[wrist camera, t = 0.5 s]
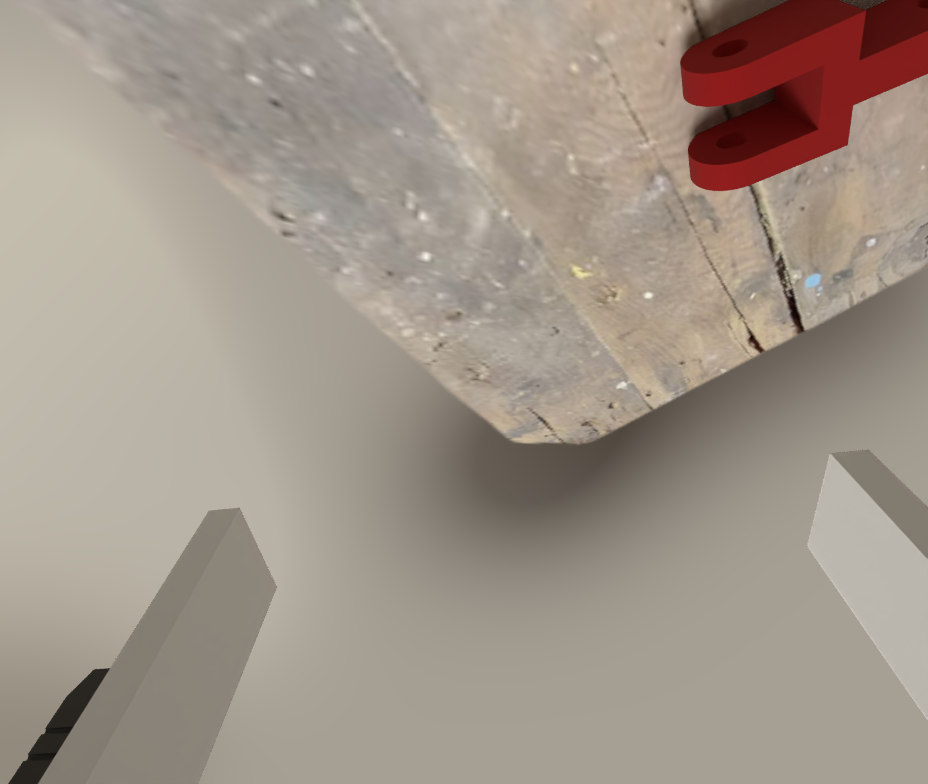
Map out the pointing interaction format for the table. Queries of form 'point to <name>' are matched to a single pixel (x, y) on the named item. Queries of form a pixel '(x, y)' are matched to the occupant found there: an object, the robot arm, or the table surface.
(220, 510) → the robot arm
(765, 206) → the table surface
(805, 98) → the mechanical linkage
